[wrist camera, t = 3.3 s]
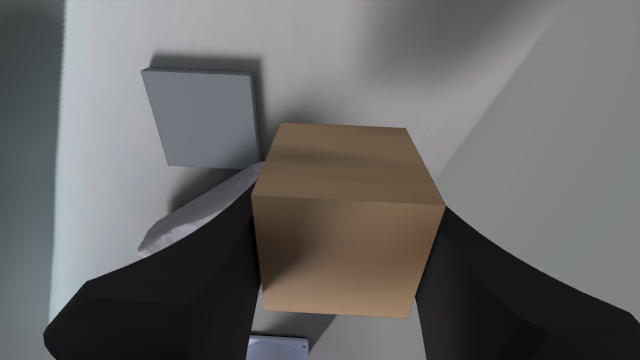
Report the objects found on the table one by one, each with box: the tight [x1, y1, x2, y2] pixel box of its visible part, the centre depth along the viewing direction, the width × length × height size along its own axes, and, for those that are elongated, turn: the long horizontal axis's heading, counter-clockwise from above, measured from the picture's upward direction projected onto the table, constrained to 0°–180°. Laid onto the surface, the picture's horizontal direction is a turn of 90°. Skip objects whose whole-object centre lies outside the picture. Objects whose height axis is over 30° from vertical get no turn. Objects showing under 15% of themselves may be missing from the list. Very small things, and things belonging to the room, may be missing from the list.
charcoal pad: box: [141, 68, 261, 169], centre depth 18 cm, size 6×6×1 cm
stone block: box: [138, 161, 264, 295], centre depth 21 cm, size 12×5×10 cm
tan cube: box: [251, 122, 446, 319], centre depth 11 cm, size 5×5×5 cm
